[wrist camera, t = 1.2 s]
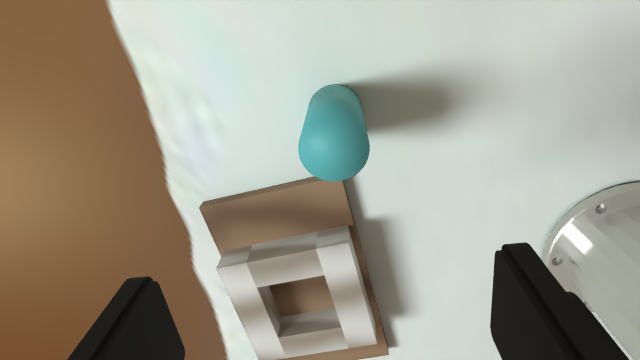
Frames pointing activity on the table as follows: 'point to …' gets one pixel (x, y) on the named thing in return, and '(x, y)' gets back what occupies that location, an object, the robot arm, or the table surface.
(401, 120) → the table surface
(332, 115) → the peg
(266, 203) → the socket board
